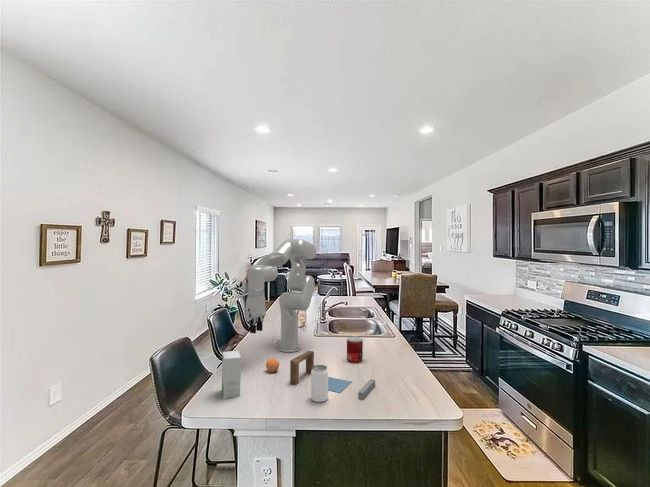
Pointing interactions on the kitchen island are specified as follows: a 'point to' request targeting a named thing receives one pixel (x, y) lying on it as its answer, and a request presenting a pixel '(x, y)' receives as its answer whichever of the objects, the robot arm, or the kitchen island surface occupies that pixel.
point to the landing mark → (337, 384)
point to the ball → (272, 365)
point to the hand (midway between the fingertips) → (256, 331)
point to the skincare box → (231, 374)
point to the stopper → (366, 389)
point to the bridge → (295, 366)
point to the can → (319, 383)
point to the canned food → (354, 349)
